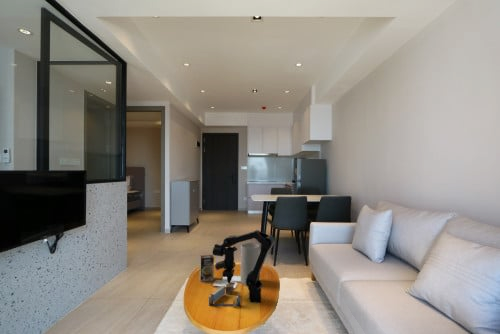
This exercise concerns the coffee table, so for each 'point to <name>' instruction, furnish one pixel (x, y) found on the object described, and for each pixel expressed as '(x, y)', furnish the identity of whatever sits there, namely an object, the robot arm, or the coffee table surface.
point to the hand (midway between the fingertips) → (229, 282)
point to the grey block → (218, 293)
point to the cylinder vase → (248, 259)
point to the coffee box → (206, 268)
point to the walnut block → (229, 288)
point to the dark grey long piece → (237, 303)
